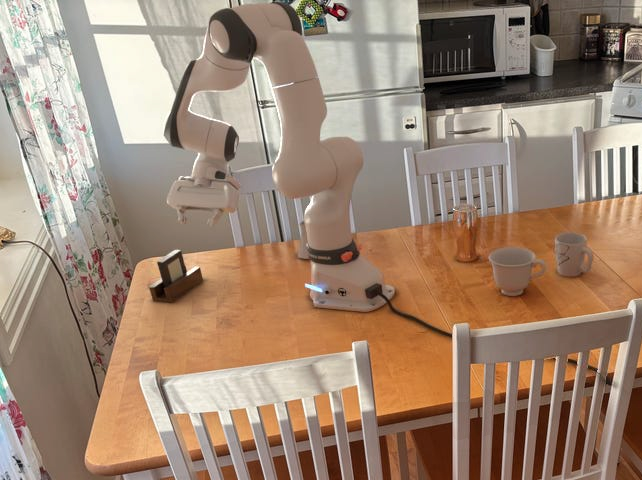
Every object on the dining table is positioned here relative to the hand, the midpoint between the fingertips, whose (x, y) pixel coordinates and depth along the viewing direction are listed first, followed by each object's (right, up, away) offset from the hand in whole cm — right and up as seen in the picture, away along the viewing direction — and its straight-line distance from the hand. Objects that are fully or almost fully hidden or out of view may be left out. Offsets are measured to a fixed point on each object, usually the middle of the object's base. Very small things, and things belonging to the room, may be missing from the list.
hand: (196, 224), depth 200 cm
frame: (-3, -18, -5) cm, 19 cm away
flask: (+28, -7, +14) cm, 32 cm away
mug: (+104, -14, -2) cm, 105 cm away
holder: (-3, -19, -4) cm, 19 cm away
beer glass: (+74, -8, +9) cm, 75 cm away
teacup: (+88, -20, -10) cm, 91 cm away
